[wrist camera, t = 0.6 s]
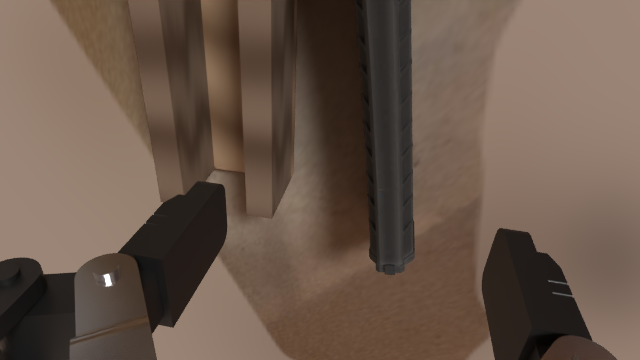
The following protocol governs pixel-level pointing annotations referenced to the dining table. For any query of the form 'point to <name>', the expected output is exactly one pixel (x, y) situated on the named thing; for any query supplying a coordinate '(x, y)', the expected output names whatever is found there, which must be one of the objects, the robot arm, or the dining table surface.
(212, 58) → the slot block
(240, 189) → the dining table surface
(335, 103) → the dining table surface
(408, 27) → the magazine
